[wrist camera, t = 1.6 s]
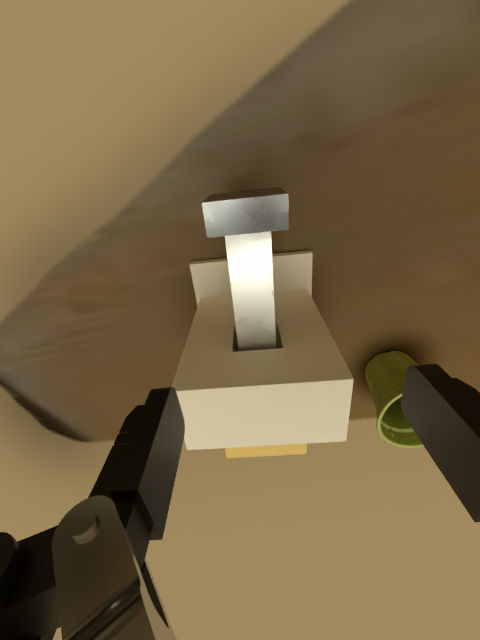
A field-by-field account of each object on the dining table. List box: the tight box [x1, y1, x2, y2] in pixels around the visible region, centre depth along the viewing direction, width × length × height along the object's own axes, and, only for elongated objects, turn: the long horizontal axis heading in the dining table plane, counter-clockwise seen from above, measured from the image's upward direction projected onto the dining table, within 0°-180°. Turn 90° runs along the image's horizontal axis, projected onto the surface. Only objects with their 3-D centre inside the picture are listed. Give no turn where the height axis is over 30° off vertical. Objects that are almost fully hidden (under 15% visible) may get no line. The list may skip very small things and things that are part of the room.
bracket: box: [172, 250, 354, 450], centre depth 27 cm, size 14×13×16 cm
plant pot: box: [365, 351, 424, 448], centre depth 34 cm, size 9×9×9 cm
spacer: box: [225, 443, 307, 458], centre depth 29 cm, size 3×8×8 cm, turn 96°
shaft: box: [202, 187, 289, 351], centre depth 24 cm, size 24×5×5 cm, turn 6°
